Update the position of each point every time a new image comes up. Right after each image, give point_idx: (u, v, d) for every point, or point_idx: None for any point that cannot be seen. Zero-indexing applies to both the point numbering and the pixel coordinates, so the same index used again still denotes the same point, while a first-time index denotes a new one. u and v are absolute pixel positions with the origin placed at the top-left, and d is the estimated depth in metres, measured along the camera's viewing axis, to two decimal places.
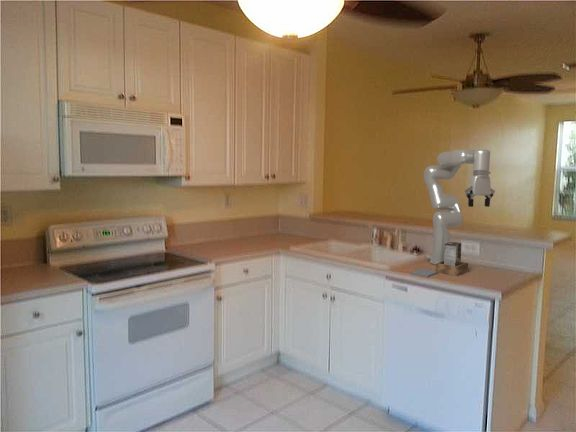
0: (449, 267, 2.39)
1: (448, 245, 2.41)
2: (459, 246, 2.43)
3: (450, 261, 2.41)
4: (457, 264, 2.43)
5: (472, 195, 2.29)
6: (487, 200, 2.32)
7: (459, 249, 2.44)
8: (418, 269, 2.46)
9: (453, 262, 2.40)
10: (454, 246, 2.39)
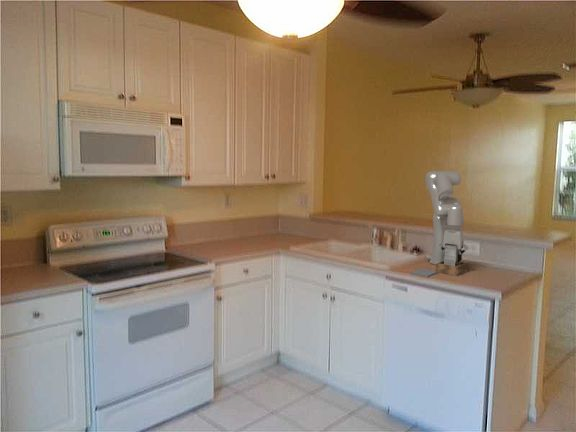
0: (449, 267, 2.39)
1: (448, 245, 2.41)
2: None
3: (450, 261, 2.41)
4: (457, 264, 2.43)
5: (461, 250, 2.43)
6: None
7: None
8: (418, 269, 2.46)
9: (453, 262, 2.40)
10: (454, 246, 2.39)
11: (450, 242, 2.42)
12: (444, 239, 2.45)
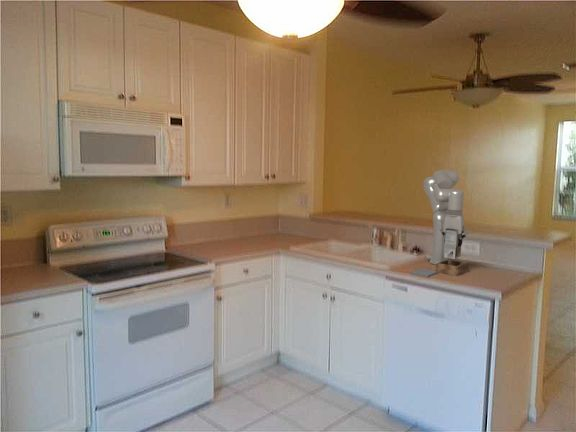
0: (449, 267, 2.39)
1: (449, 230, 2.41)
2: None
3: (451, 245, 2.41)
4: (458, 249, 2.42)
5: (462, 235, 2.42)
6: None
7: None
8: (418, 269, 2.46)
9: (454, 247, 2.40)
10: (455, 231, 2.39)
11: (451, 227, 2.42)
12: (445, 224, 2.44)
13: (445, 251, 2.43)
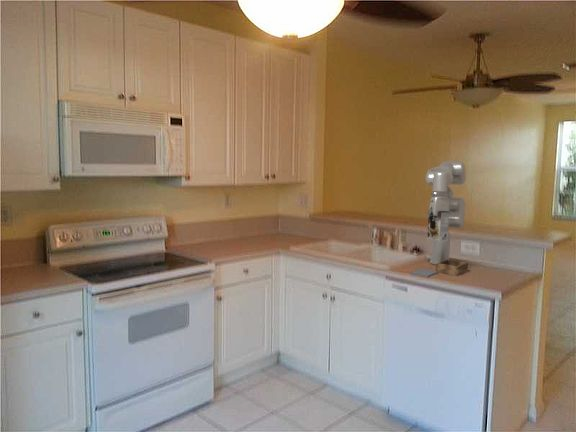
0: (449, 267, 2.39)
1: (443, 212, 2.35)
2: None
3: (445, 228, 2.36)
4: None
5: None
6: None
7: None
8: (418, 269, 2.46)
9: (447, 229, 2.37)
10: (448, 212, 2.36)
11: (441, 209, 2.36)
12: (436, 207, 2.35)
13: (440, 235, 2.35)
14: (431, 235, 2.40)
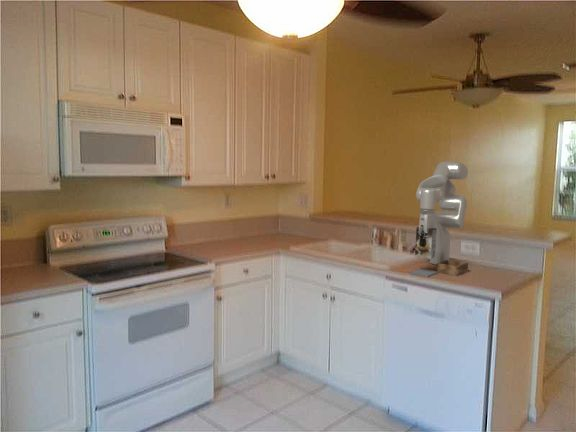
0: (449, 267, 2.39)
1: (433, 229, 2.35)
2: None
3: (434, 245, 2.37)
4: None
5: None
6: None
7: None
8: (418, 269, 2.46)
9: (435, 246, 2.38)
10: (436, 229, 2.37)
11: (430, 226, 2.36)
12: (427, 225, 2.33)
13: (431, 253, 2.35)
14: (420, 253, 2.38)
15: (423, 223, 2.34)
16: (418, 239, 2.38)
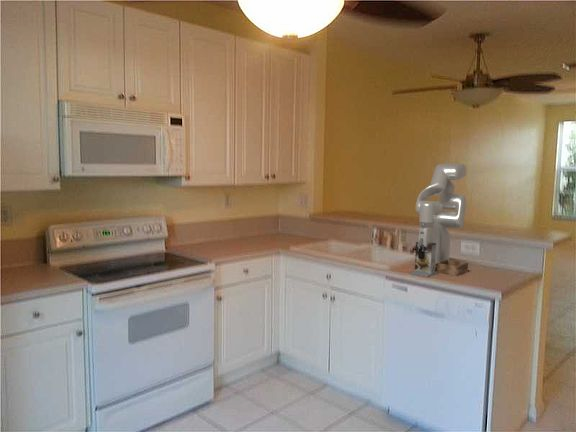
0: (449, 267, 2.39)
1: (433, 245, 2.36)
2: None
3: (433, 260, 2.38)
4: None
5: None
6: None
7: None
8: None
9: (434, 260, 2.39)
10: (435, 244, 2.38)
11: (430, 240, 2.37)
12: (427, 238, 2.34)
13: (430, 268, 2.36)
14: (419, 268, 2.39)
15: (422, 237, 2.35)
16: None
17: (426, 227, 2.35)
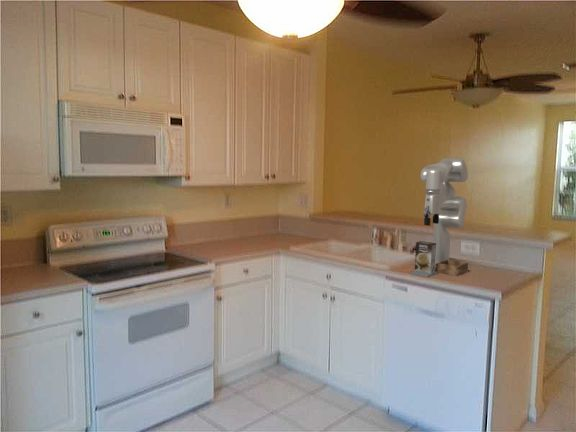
0: (449, 267, 2.39)
1: (433, 245, 2.36)
2: None
3: (433, 260, 2.38)
4: None
5: None
6: None
7: None
8: None
9: (434, 260, 2.39)
10: (435, 244, 2.38)
11: (436, 207, 2.36)
12: (433, 205, 2.33)
13: (430, 268, 2.36)
14: (419, 268, 2.39)
15: (429, 204, 2.34)
16: (418, 254, 2.39)
17: (432, 194, 2.34)
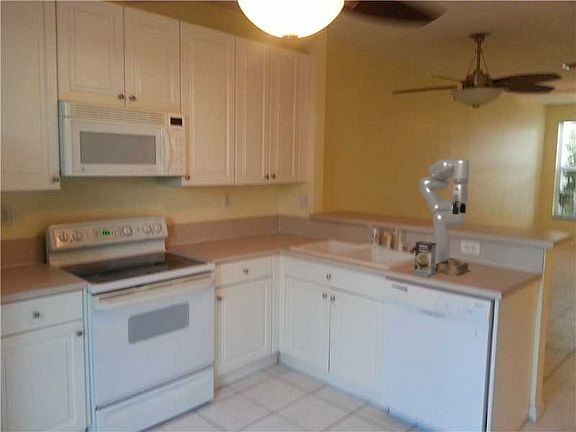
0: (449, 267, 2.39)
1: (433, 245, 2.36)
2: None
3: (433, 260, 2.38)
4: None
5: None
6: None
7: None
8: None
9: (434, 260, 2.39)
10: (435, 244, 2.38)
11: (464, 196, 2.41)
12: (461, 194, 2.38)
13: (430, 268, 2.36)
14: (419, 268, 2.39)
15: (457, 193, 2.39)
16: (418, 254, 2.39)
17: (461, 183, 2.39)
